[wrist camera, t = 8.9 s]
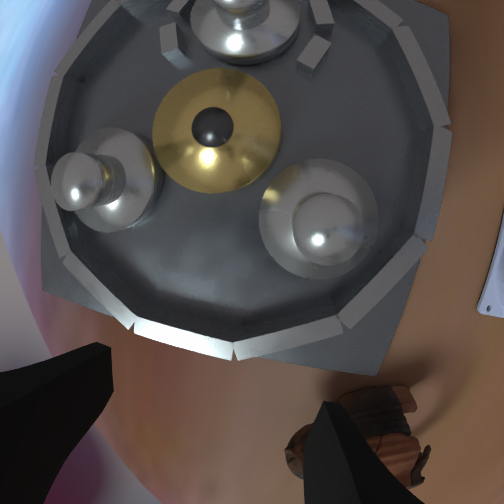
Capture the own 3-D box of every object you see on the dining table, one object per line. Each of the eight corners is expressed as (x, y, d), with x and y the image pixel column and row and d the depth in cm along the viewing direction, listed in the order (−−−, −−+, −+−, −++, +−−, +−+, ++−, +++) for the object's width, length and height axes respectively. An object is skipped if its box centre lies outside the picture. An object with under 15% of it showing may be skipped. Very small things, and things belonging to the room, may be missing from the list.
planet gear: (312, 0, 13) (317, -47, 8) (280, 77, 15) (277, 39, 10) (219, -19, 13) (201, -63, 9) (182, 53, 15) (150, 17, 10)
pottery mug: (439, 378, 19) (459, 472, 13) (370, 418, 25) (379, 493, 19) (310, 373, 17) (318, 510, 11) (255, 416, 23) (254, 508, 17)
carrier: (442, 21, 13) (479, -15, 7) (372, 368, 19) (393, 422, 13) (108, -17, 14) (71, -48, 9) (50, 285, 20) (1, 311, 15)
